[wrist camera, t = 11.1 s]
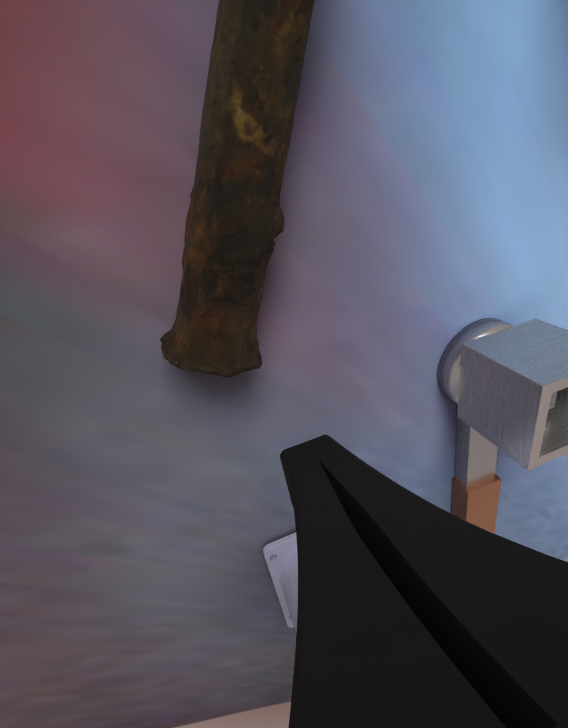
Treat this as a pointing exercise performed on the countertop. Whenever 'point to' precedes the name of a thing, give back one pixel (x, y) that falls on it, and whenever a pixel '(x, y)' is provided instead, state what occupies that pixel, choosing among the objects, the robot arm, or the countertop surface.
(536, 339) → the hollow square box
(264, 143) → the hand tool
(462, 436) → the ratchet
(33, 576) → the countertop surface
